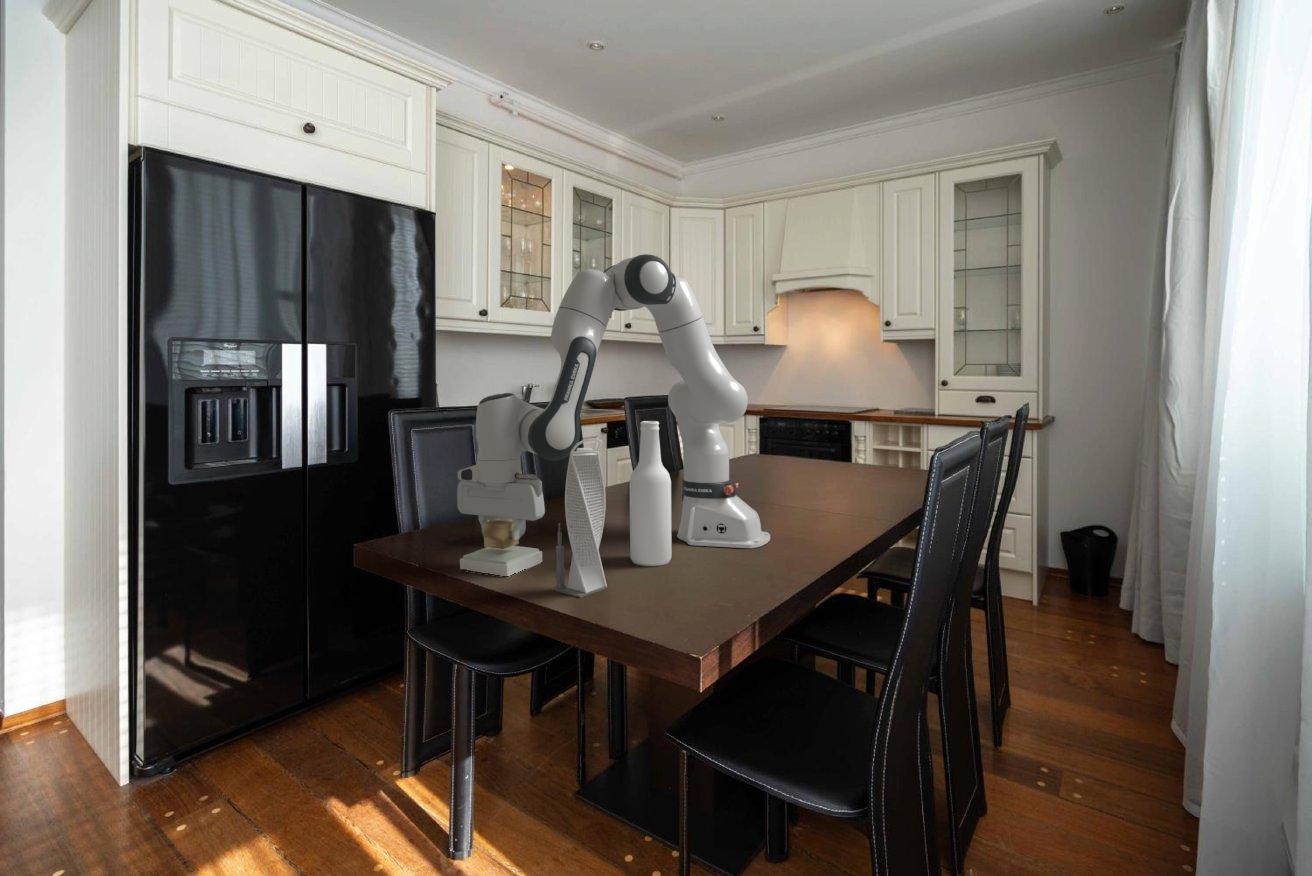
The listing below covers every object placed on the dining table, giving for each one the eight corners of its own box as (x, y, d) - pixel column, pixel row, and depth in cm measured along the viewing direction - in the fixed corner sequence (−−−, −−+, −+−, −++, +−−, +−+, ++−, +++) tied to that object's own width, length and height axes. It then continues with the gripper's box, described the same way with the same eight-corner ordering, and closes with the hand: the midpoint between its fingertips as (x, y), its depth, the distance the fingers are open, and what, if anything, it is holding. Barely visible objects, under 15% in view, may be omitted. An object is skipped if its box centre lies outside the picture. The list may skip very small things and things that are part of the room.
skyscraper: (586, 579, 134) (583, 437, 131) (616, 587, 129) (614, 439, 126) (553, 590, 127) (550, 440, 125) (584, 599, 122) (581, 443, 119)
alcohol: (667, 568, 141) (666, 423, 138) (626, 566, 143) (624, 422, 140) (674, 556, 150) (673, 420, 147) (635, 555, 152) (634, 420, 149)
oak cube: (518, 543, 144) (517, 520, 144) (503, 549, 140) (503, 525, 139) (499, 541, 146) (498, 518, 146) (484, 546, 142) (483, 523, 141)
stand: (542, 562, 146) (542, 548, 146) (507, 577, 136) (506, 562, 135) (497, 556, 151) (496, 542, 151) (460, 570, 141) (459, 556, 140)
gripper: (550, 472, 140) (551, 538, 141) (471, 467, 149) (473, 530, 150) (531, 477, 134) (533, 546, 136) (451, 471, 143) (453, 536, 144)
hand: (501, 537), depth 143 cm, fingers closed on oak cube, 5 cm apart
